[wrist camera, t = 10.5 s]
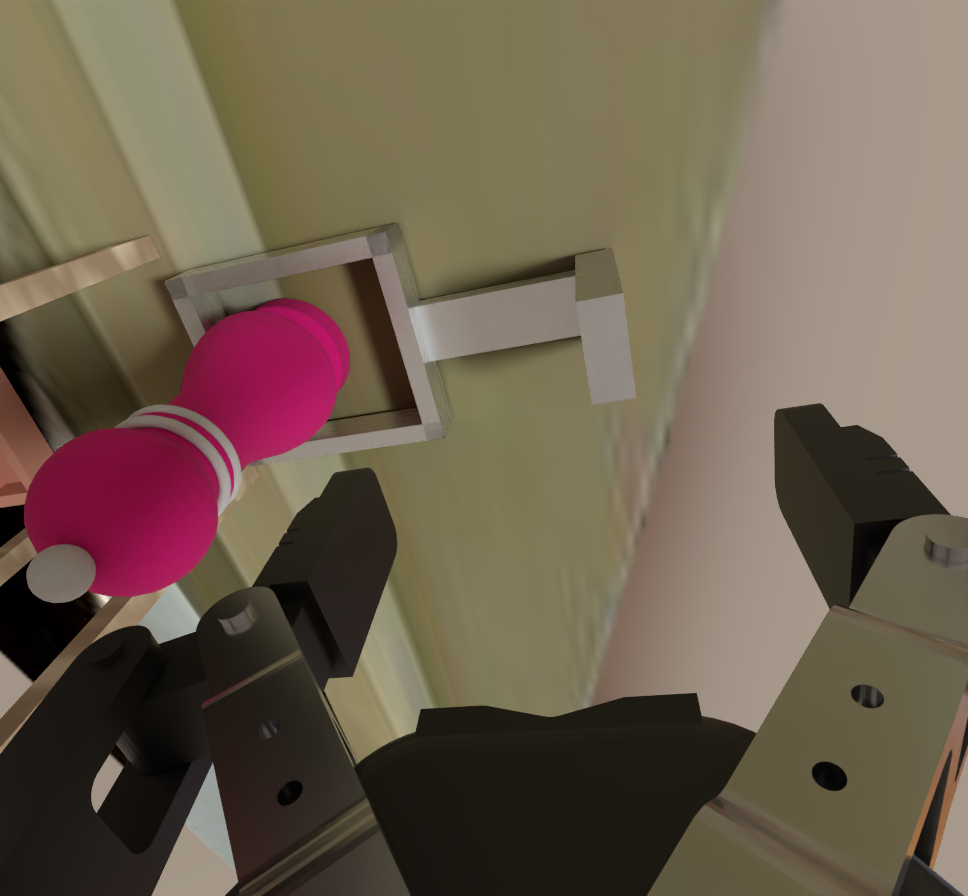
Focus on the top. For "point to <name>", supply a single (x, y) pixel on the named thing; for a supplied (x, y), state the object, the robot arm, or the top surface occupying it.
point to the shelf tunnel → (19, 550)
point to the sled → (435, 327)
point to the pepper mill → (181, 456)
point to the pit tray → (18, 447)
